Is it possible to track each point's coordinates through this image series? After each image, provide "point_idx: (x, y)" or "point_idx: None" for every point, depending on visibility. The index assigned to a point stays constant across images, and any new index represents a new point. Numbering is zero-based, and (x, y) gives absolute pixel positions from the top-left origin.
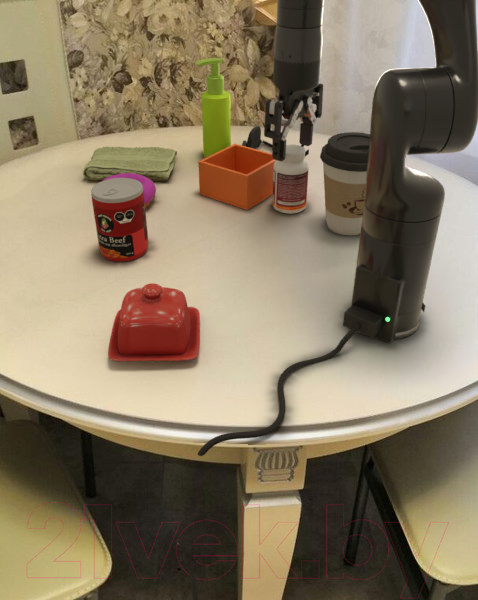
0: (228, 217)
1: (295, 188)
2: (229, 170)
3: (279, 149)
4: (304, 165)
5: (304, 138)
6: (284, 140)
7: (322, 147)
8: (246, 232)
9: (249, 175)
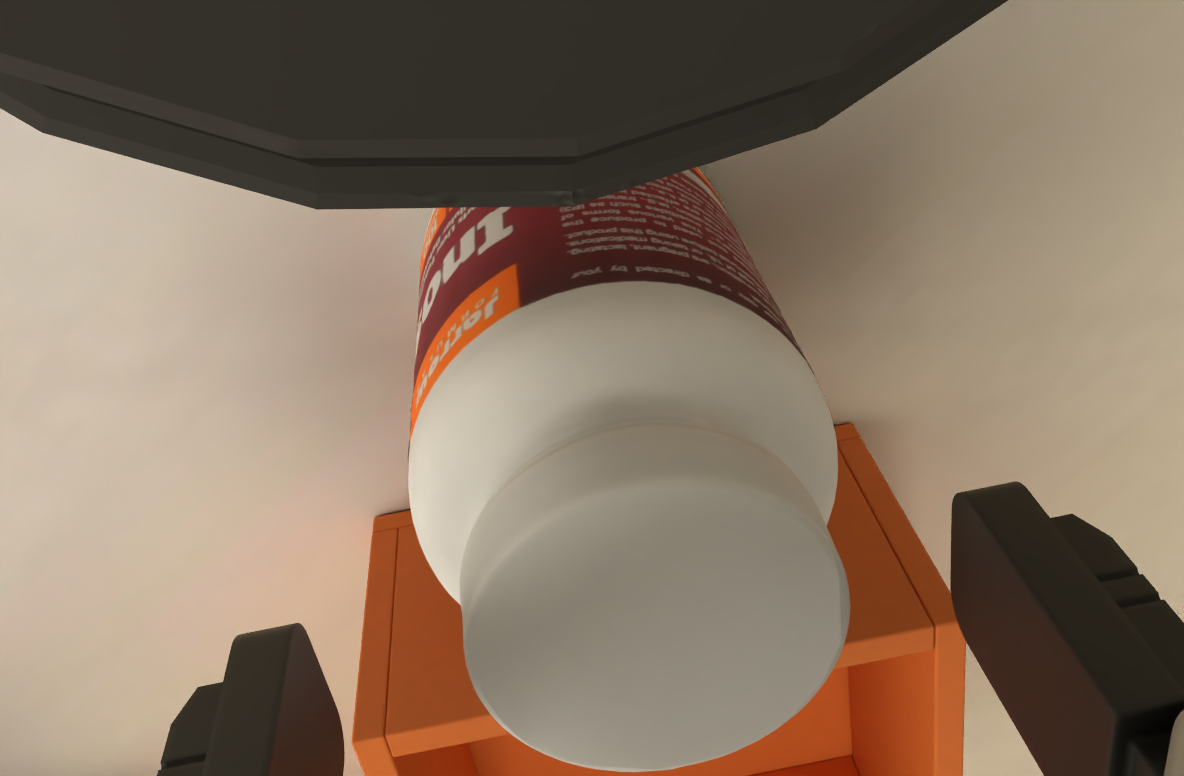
0: (1027, 424)
1: (707, 230)
2: (957, 771)
3: (1166, 613)
4: (600, 353)
5: (312, 757)
6: (1173, 703)
7: (838, 113)
8: (1160, 171)
9: (931, 625)
